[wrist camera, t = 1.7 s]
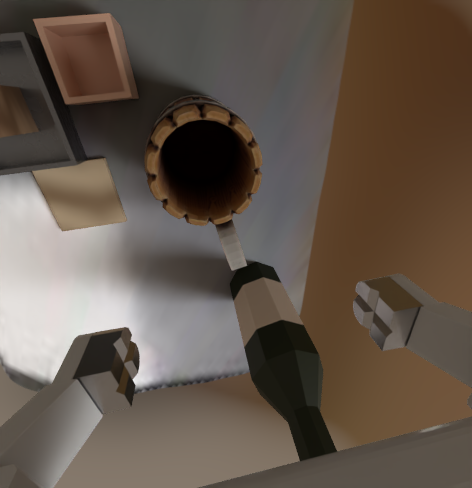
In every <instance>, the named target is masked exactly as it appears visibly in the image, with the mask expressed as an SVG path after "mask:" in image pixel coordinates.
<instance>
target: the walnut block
mask: <svg viewBox="0 0 472 488" xmlns="http://www.w3.org/2000/svg"><path fill="white" fill-rule="evenodd" d="M32 132H39V130H38V128H37V126H36V124H35V121H34V119H33V117H32V115H31V113H30V110H29V108H28V106H27V104H26V102H25V99H24V97H23V95H22V93H21V91H20V88H19V87H12V86H3V85H0V138H1V137H7V136H14V135H20V134H26V133H32Z"/></svg>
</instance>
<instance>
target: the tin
mask: <svg viewBox="0 0 472 488" xmlns="http://www.w3.org/2000/svg"><path fill="white" fill-rule="evenodd" d="M0 85H3V86H12V87H19V88H20V91H21V93H22V95H23V97H24V99H25V102H26V104H27V106H28V108H29V110H30V113H31V115H32V117H33V119H34V121H35V124H36V126H37V128H38V130H39V132H32V133H26V134H20V135H14V136H7V137H1V138H0V175H7V174H14V173H22V172H30V171H37V170H45V169H52V168H60V167H68V166H75V165H79V164H81V163H83V162H85V161H87V157H86V154H85V152H84V149H83V146H82V144H81V141H80V139H79V136H78V133H77V131H76V128H75V126H74V123H73V120H72V118H71V115H70V113H69V110H68V107H67V105H66V104H65V101H64V99H63V96H62V94H61V91H60V88H59V86H58V83H57V81H56V78H55V75H54V73H53V70H52V68H51V65H50V62H49V60H48V57H47V55H46V52H45V49H44V47H43V44H42V42H41V40H40V39H38V38H36V37H33V36H31V35H29V34H27V33H25V32H17V33H4V34H0Z"/></svg>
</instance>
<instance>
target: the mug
mask: <svg viewBox="0 0 472 488" xmlns="http://www.w3.org/2000/svg"><path fill="white" fill-rule="evenodd" d="M194 98H197V99H196V100H194ZM173 105H175V106H174V107H172V106H173ZM144 161H145V172H146V175H147V178H148V180H147V181H148V185H149V188H150V191H151V192H152V194H153V195H154V197H155V198H156V200H160V201H161V202H163V208H164V209H165V210H166V211H167V212H168V213H169V214H171V215H172V216H174V217H176V218H178V219H180V218H183V217H185V219H186V221H187V223H190V224H194V225H201V226H204V225H207V223H208V222H209V221H210V222H212V223H213V224H214V225H216V229H217V232H218V235H219V238H220V241H221V244H222V247H223V250H224V252H225V255H226V258H227V261H228V263H229V266H230V268H231V270H232V271H233V270H236V269H239V268H242V267H245V266H247V264H246V260H245V257H244V254H243V251H242V248H241V245H240V242H239V239H238V236H237V233H236V230H235V227H234V224H233V221H232V216H233V213H236V214H240V213H242V212H243V211H244V210H245V209H246V208H247V207H248V206H249V204H250V203H251V201H252V198H251V194H255V193H257V191H258V188H259V186H260V184H261V177H262V173H261V172H260V166H261V165H262V154H261V151H260V148H259V146H258V143H257V141H256V138H255V136H254V133H253V132H252V131H251V129H250V128H249V126H248V125H247V123H246V122H245V121H244V120H243V119H242V118H241V117H240V116H239V115H237V114H236V113H235V112H234V111H233V110H231V109H230V108H228V107H226V106H225V105H224V104H222V103H221V102H220V101H218V100H215V99H213V98H211V97H209V96H203V95H196V94H194V95H188V96H182V97H180V98H178V99H176V100H175V101H173V102H171V103H170V104H169V105H168V106H167V107H166V108H165V109H164V110H163V111H162V112H161V113H160V115H159V117H158V119H157V121H156V123H155V125H154V127H153V129H152V131H151V132H150V134H149V136H148V138H147V143H146V148H145V152H144Z"/></svg>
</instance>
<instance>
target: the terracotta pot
mask: <svg viewBox="0 0 472 488" xmlns="http://www.w3.org/2000/svg"><path fill="white" fill-rule="evenodd" d="M33 21H34V23H35V26H36V29H37V31H38V34H39V36H40V39H41V42H42V44H43V47H44V49H45V52H46V55H47V57H48V60H49V62H50V65H51V68H52V70H53V73H54V75H55V78H56V81H57V83H58V86H59V88H60V91H61V94H62V96H63V99H64V101H65V104H71V105H84V104H93V103H103V102H112V101H121V100H130V99H139V95H138V91H137V87H136V83H135V79H134V75H133V71H132V68H131V64H130V60H129V56H128V52H127V48H126V44H125V40H124V36H123V32H122V28H121V26H120V25H119V24H118V22H117V21H116V20H115V19H114V18H113V16H112V15H111V14H110V13H105V14H92V15H79V16H66V17H53V18H40V19H33Z"/></svg>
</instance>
